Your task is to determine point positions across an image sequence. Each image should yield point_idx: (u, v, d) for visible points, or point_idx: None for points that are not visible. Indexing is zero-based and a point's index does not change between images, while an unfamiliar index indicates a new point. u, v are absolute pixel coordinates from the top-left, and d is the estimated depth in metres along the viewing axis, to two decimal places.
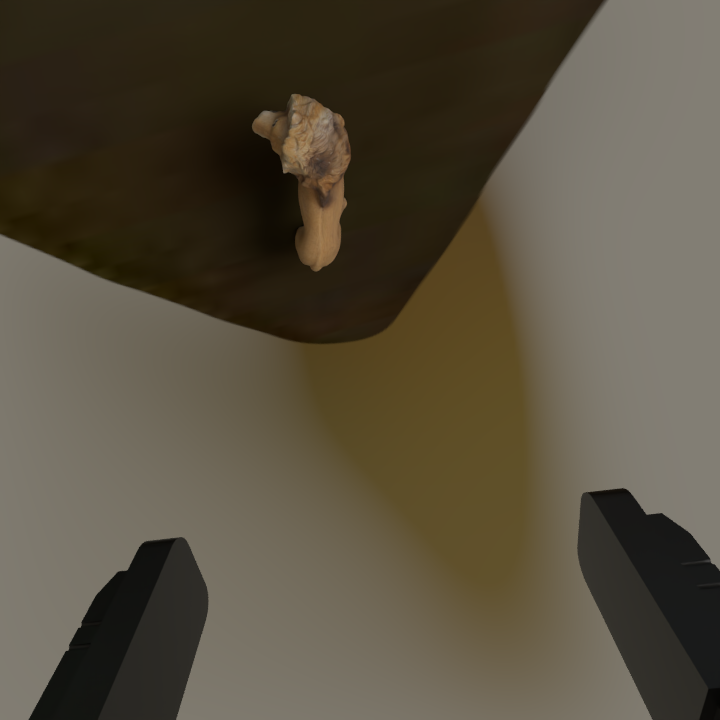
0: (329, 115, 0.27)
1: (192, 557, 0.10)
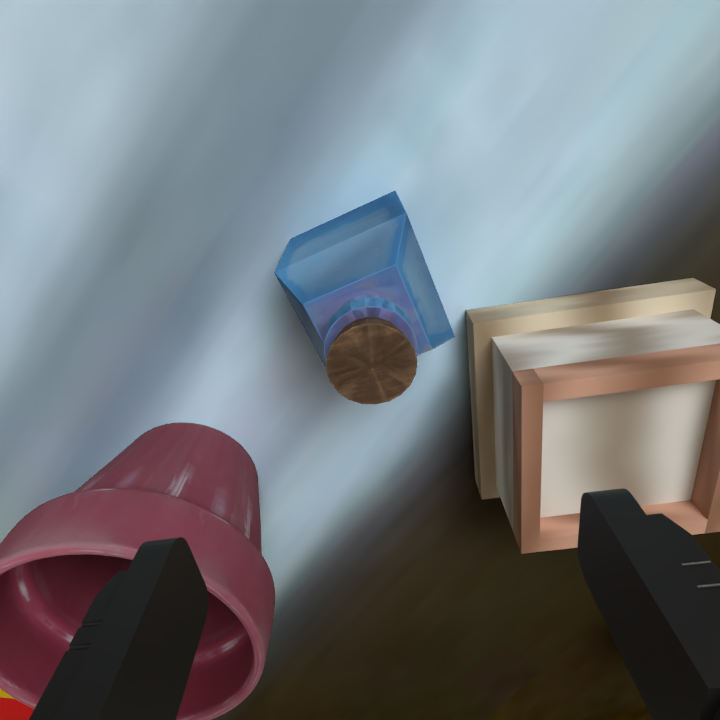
0: None
1: (192, 557, 0.10)
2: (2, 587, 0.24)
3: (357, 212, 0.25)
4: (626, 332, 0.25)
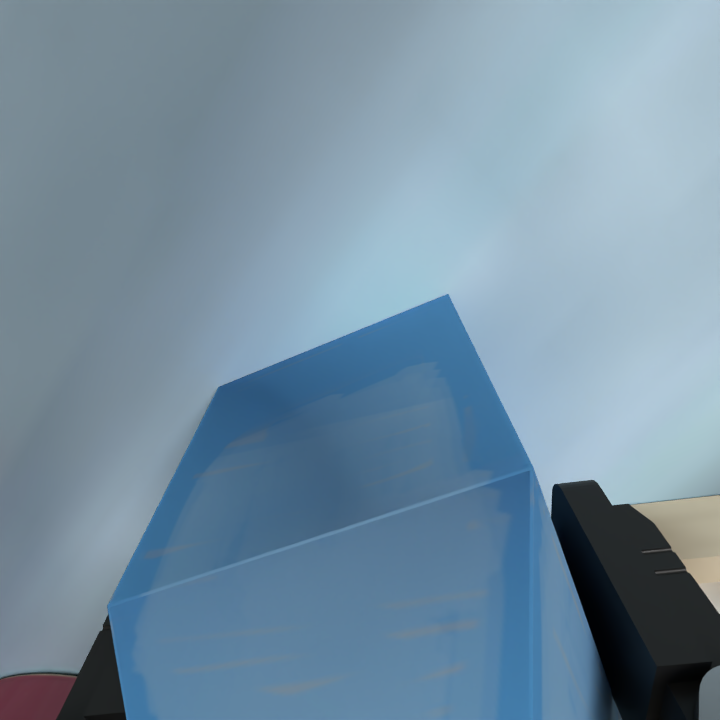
0: None
1: None
2: None
3: (362, 352, 0.11)
4: None
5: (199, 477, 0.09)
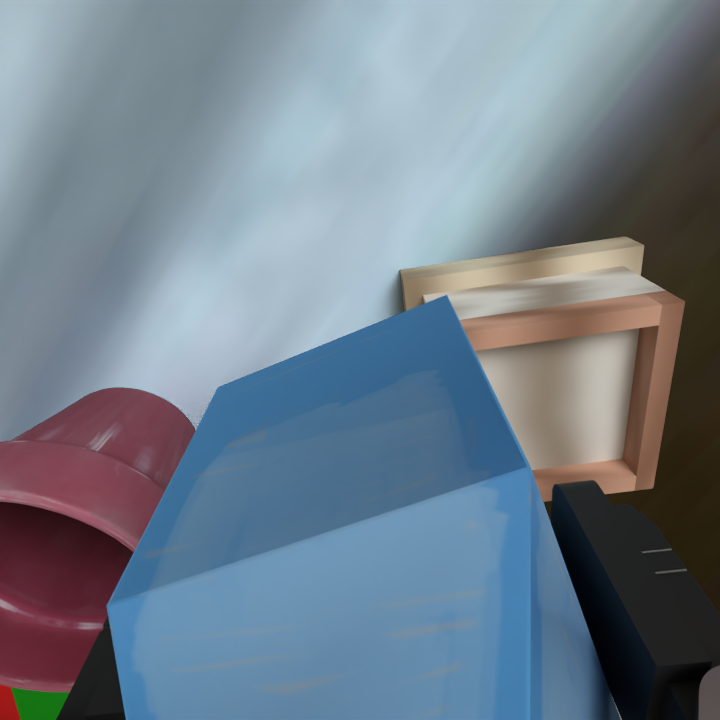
0: None
1: None
2: None
3: (361, 352, 0.11)
4: (553, 287, 0.25)
5: (198, 477, 0.09)
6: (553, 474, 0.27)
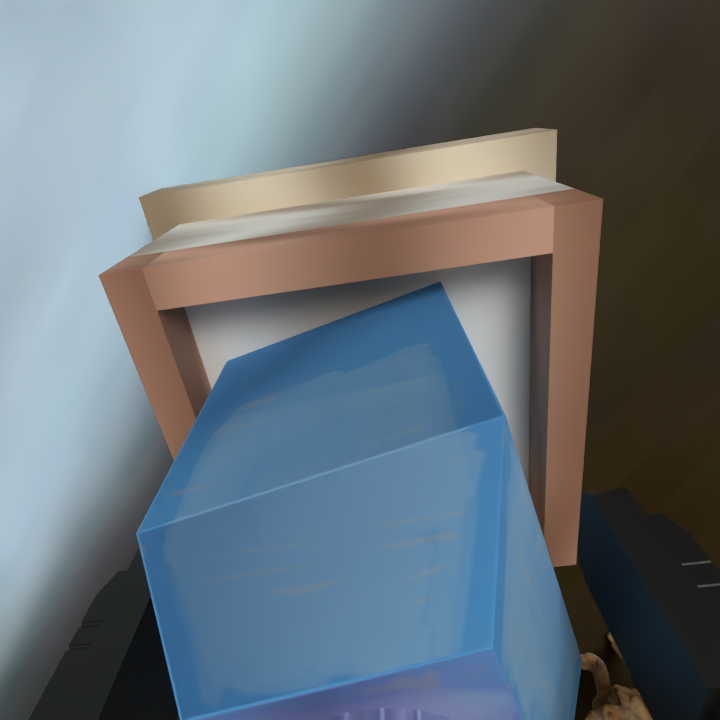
0: None
1: None
2: None
3: (361, 330, 0.12)
4: (384, 201, 0.14)
5: (213, 433, 0.10)
6: None
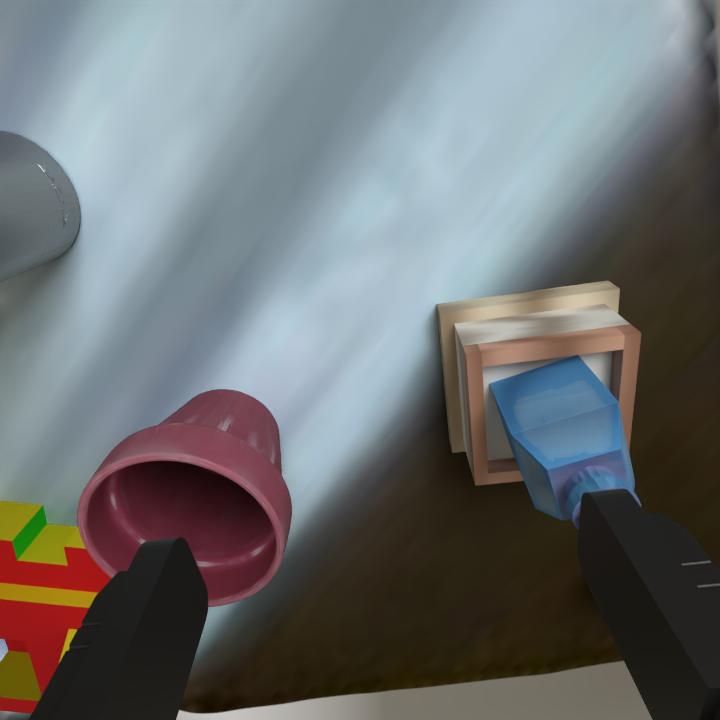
0: None
1: (192, 557, 0.10)
2: (101, 494, 0.34)
3: (552, 373, 0.33)
4: (550, 319, 0.35)
5: (512, 408, 0.31)
6: None
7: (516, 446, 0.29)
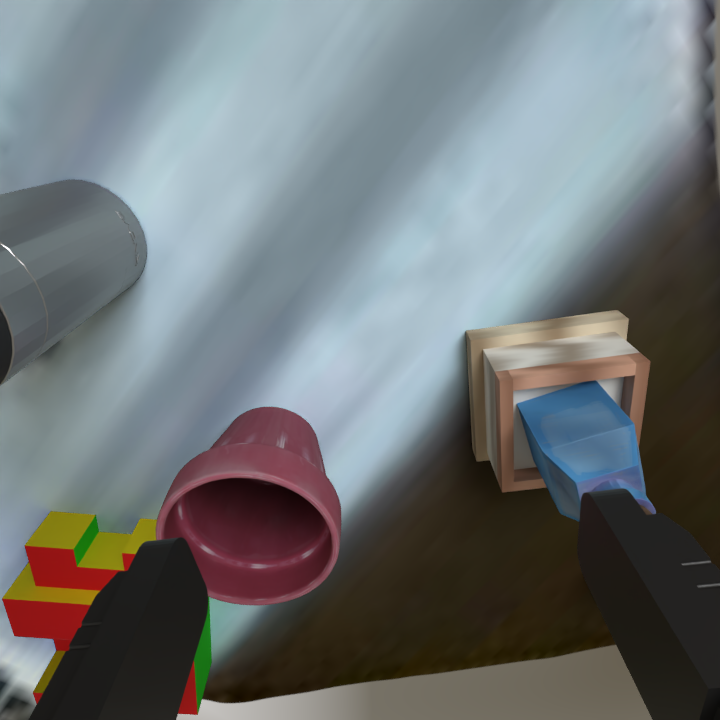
0: None
1: (192, 557, 0.10)
2: (172, 506, 0.38)
3: (572, 395, 0.37)
4: (569, 346, 0.40)
5: (541, 428, 0.36)
6: None
7: (546, 461, 0.34)
